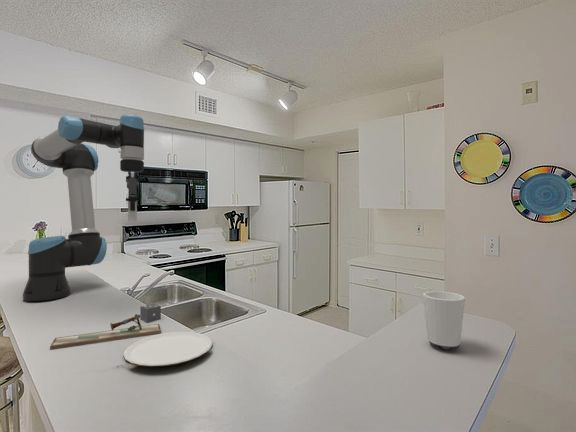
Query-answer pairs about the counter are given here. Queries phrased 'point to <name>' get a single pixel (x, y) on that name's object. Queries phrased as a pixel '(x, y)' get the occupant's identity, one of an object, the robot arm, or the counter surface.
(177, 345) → the plate
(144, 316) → the die
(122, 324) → the lantern lamp post
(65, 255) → the robot arm
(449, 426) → the counter surface
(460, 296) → the cup
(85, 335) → the board
